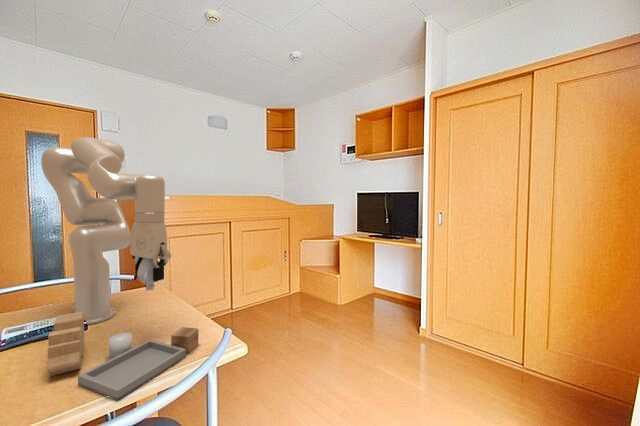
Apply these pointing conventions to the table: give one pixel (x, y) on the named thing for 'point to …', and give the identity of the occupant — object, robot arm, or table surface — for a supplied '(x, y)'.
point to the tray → (131, 369)
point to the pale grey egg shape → (119, 344)
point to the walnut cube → (185, 339)
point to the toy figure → (146, 273)
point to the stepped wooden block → (66, 344)
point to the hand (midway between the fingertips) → (149, 277)
